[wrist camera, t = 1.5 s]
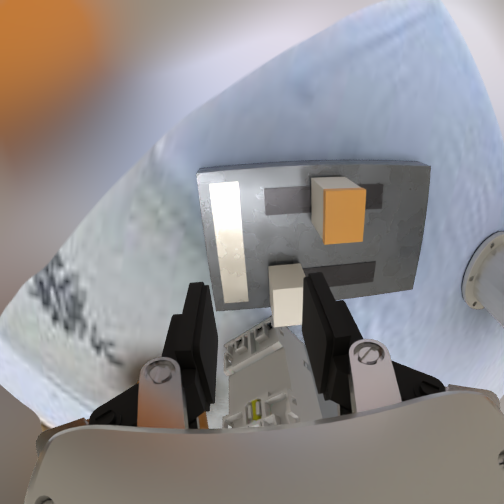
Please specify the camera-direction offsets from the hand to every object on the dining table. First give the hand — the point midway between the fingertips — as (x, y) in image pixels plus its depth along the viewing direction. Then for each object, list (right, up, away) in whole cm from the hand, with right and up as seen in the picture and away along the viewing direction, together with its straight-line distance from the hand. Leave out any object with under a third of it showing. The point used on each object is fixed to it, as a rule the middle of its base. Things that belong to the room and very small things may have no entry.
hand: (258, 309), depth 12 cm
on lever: (+3, -1, +16) cm, 17 cm away
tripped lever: (+6, +7, +13) cm, 16 cm away
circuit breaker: (+4, -12, +25) cm, 28 cm away
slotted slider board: (+6, +5, +17) cm, 19 cm away
